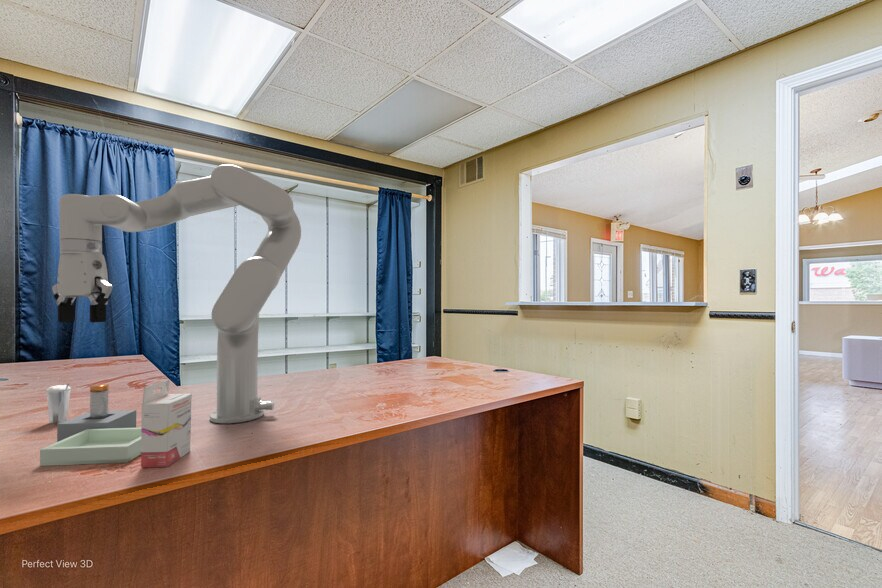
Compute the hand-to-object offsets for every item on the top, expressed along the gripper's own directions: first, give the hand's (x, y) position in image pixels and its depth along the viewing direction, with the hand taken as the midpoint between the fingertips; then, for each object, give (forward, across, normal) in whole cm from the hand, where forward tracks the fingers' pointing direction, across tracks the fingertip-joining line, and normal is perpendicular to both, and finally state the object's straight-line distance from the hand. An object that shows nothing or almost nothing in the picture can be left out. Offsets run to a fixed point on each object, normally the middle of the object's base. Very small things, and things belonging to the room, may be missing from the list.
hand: (82, 321), depth 98 cm
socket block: (+25, -7, +1) cm, 26 cm away
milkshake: (+25, +12, -3) cm, 28 cm away
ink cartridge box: (+26, -34, +9) cm, 44 cm away
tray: (+25, -19, +9) cm, 33 cm away
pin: (+25, -7, +1) cm, 26 cm away
